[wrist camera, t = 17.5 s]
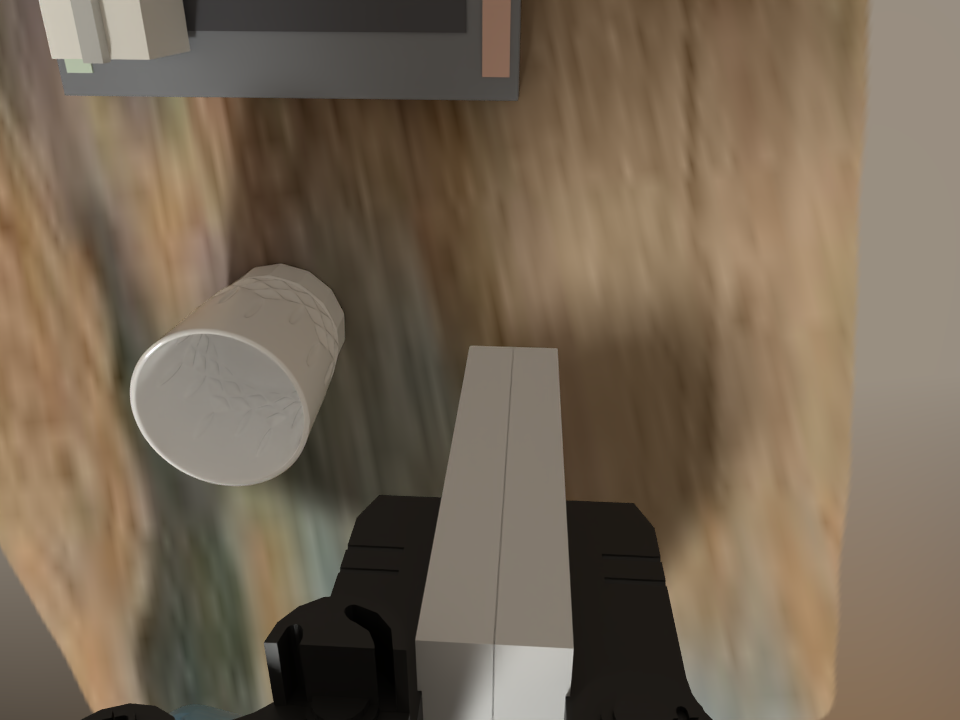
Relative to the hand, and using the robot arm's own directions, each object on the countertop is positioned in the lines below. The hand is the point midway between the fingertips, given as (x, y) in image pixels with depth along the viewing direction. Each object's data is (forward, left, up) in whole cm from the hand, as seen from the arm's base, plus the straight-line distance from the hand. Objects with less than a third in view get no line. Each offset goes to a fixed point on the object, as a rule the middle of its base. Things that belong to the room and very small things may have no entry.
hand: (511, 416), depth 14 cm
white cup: (-10, +13, -27) cm, 31 cm away
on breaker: (+6, +17, -24) cm, 30 cm away
